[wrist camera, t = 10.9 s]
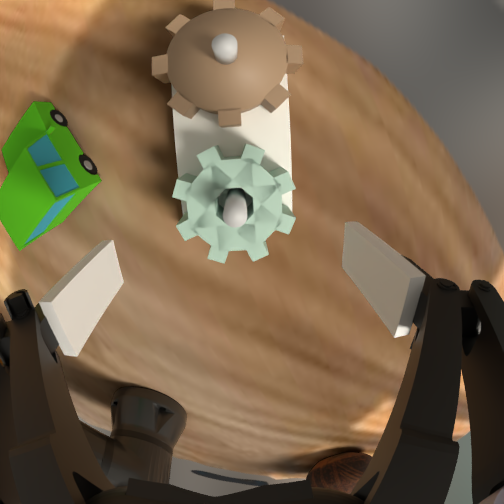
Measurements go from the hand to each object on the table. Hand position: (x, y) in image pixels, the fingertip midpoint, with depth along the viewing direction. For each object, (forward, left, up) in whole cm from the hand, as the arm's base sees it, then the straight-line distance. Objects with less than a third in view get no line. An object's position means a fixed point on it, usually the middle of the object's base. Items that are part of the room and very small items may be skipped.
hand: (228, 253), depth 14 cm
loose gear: (0, 0, -13) cm, 13 cm away
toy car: (-21, +7, -15) cm, 27 cm away
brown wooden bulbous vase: (+24, -78, -15) cm, 83 cm away
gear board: (0, +8, -15) cm, 17 cm away
